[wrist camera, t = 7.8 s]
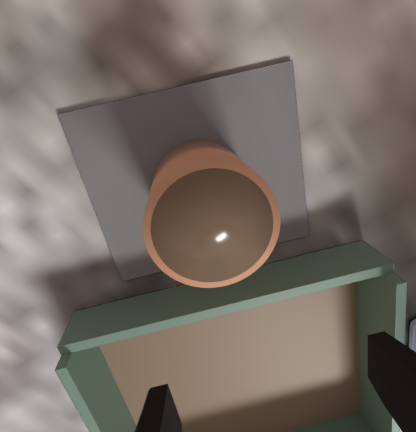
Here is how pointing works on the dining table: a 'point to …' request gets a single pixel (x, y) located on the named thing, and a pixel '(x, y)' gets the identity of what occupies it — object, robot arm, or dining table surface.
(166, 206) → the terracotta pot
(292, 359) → the green shallow tray
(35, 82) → the dining table surface
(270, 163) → the mat
